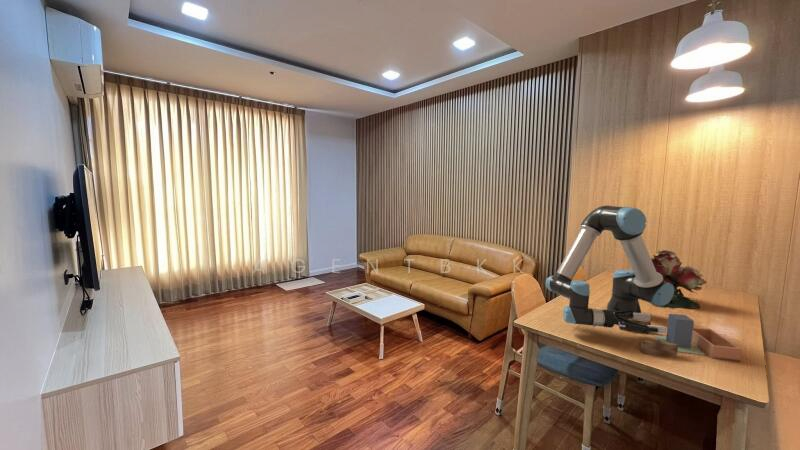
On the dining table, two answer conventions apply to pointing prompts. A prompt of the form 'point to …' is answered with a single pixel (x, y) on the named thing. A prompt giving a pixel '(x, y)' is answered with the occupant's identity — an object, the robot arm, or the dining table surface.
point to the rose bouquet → (677, 278)
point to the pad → (684, 350)
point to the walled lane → (656, 344)
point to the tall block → (680, 330)
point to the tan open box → (715, 345)
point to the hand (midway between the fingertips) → (657, 323)
